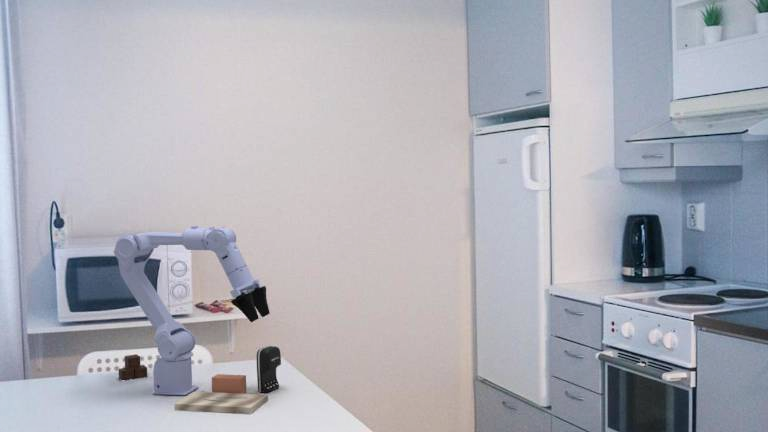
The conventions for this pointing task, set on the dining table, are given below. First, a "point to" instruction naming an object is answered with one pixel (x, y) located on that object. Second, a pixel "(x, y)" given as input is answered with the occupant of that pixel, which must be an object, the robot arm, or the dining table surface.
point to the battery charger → (268, 368)
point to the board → (221, 402)
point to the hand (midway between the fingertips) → (260, 318)
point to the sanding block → (229, 384)
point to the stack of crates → (132, 368)
